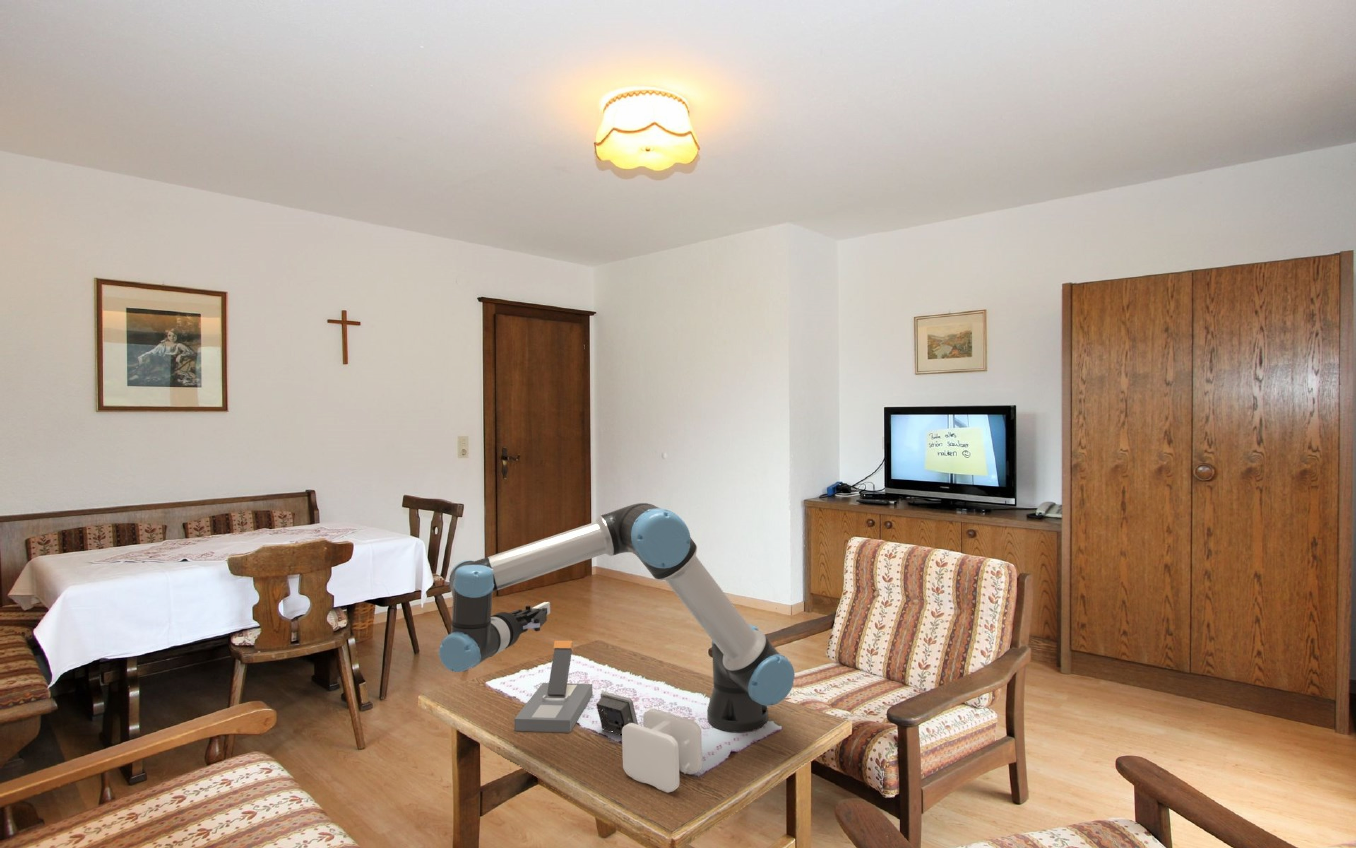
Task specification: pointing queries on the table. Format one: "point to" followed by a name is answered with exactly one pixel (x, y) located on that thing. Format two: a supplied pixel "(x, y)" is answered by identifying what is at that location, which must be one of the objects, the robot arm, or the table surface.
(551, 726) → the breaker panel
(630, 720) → the electrical switch
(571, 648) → the breaker lever
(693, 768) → the cable organizer
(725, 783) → the table surface
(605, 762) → the table surface
